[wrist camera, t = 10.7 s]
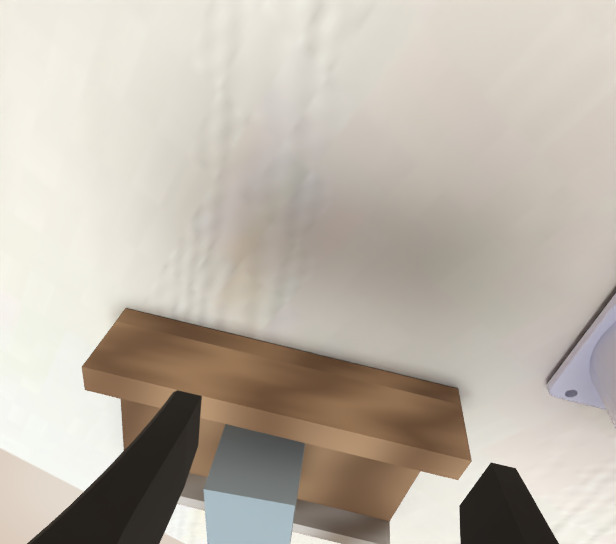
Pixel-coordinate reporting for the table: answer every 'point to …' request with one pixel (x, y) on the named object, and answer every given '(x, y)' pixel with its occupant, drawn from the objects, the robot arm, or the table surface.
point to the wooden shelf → (289, 417)
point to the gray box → (252, 488)
